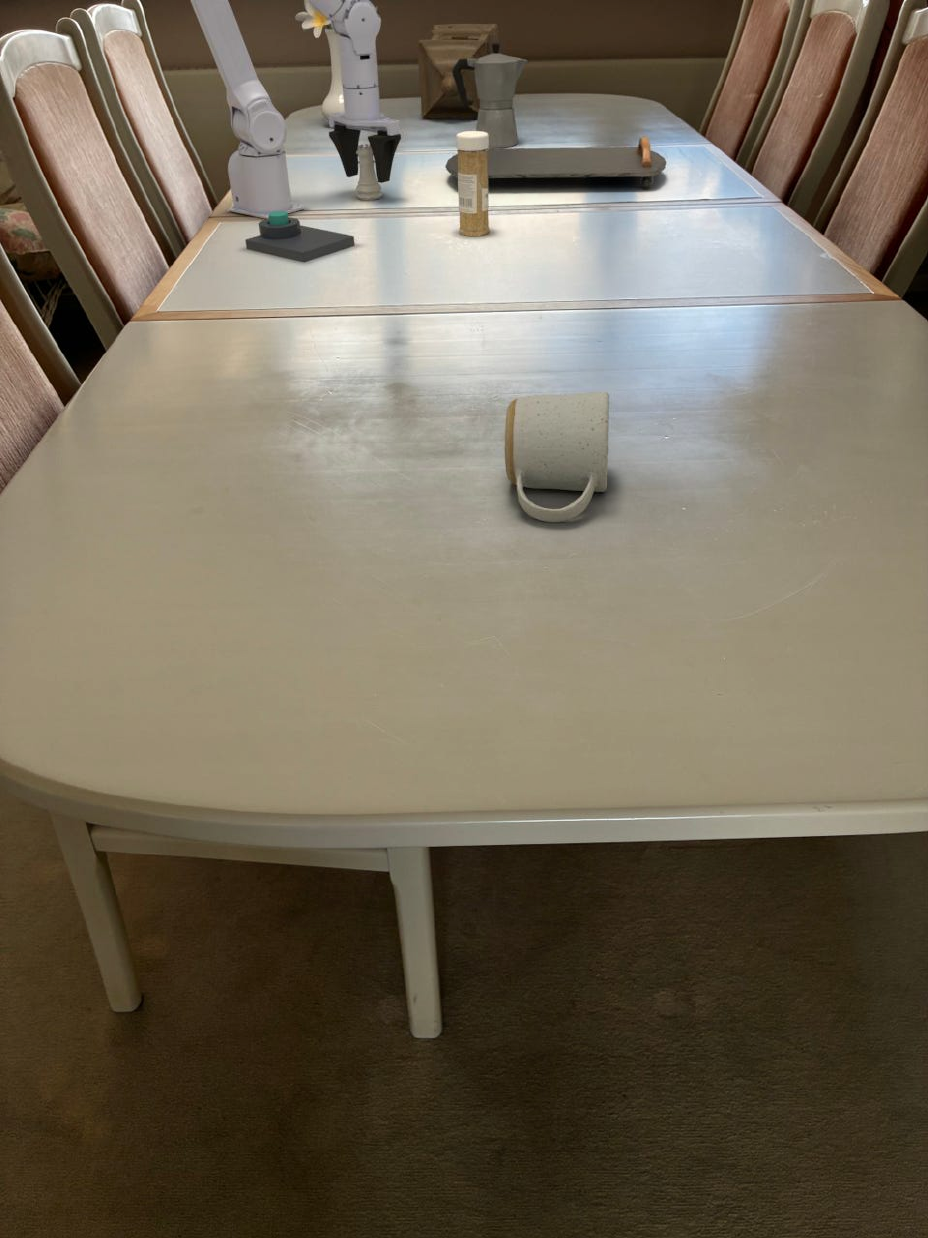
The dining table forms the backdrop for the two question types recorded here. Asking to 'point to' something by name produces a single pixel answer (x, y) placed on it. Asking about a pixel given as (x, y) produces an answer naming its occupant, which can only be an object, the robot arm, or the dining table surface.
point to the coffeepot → (493, 94)
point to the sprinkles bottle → (473, 182)
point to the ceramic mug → (558, 448)
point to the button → (278, 218)
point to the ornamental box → (439, 63)
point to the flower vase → (335, 96)
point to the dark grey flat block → (297, 241)
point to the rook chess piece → (367, 175)
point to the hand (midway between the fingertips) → (367, 178)
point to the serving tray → (572, 162)
